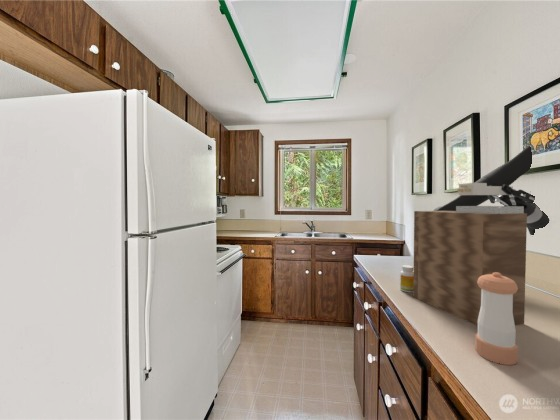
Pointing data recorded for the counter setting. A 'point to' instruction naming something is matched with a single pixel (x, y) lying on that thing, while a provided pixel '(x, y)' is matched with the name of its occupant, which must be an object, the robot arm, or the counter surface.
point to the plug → (480, 189)
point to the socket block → (490, 209)
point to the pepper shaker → (496, 319)
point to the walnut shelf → (467, 259)
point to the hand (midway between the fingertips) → (496, 187)
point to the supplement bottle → (407, 278)
